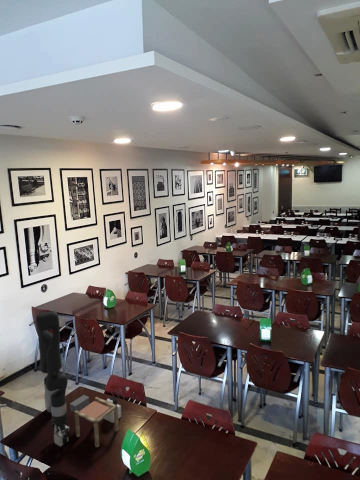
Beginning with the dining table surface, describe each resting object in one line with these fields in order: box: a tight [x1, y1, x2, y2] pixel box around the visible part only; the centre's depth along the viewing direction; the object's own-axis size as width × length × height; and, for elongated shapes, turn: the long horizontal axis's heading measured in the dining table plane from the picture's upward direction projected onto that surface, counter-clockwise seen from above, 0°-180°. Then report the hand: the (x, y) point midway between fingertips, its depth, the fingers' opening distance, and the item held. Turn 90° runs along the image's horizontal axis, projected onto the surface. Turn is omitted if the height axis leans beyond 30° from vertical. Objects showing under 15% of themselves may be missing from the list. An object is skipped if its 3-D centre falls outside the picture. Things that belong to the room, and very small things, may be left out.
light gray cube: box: [53, 429, 69, 447], centre depth 190 cm, size 5×5×5 cm
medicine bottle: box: [103, 396, 122, 424], centre depth 209 cm, size 7×7×12 cm
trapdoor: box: [69, 394, 111, 419], centre depth 198 cm, size 20×12×4 cm, turn 56°
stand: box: [74, 396, 120, 448], centre depth 196 cm, size 16×16×14 cm
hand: (61, 441), depth 191 cm, fingers closed on light gray cube, 5 cm apart
